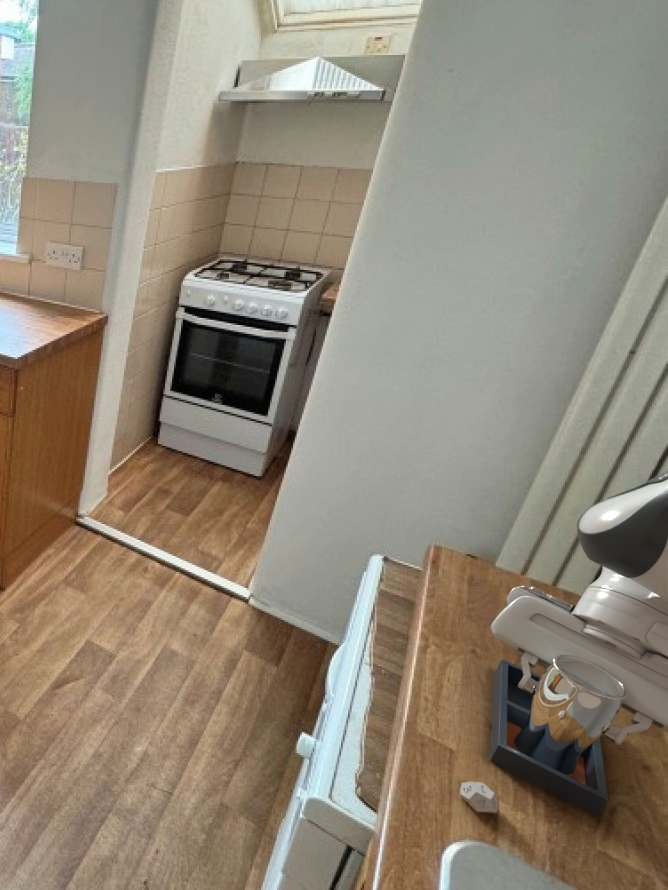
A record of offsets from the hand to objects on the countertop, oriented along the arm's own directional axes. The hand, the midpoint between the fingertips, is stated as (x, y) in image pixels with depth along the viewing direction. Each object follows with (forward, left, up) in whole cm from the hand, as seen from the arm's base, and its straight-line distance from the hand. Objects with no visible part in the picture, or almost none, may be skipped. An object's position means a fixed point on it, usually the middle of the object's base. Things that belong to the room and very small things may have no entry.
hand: (566, 714), depth 78 cm
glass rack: (-2, -5, -10) cm, 11 cm away
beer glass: (0, -1, -9) cm, 9 cm away
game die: (+10, +10, -10) cm, 17 cm away
